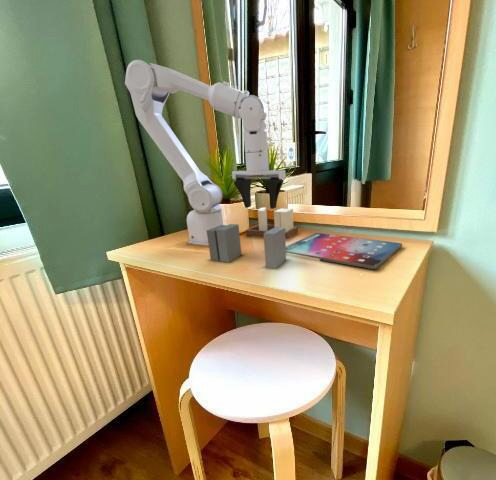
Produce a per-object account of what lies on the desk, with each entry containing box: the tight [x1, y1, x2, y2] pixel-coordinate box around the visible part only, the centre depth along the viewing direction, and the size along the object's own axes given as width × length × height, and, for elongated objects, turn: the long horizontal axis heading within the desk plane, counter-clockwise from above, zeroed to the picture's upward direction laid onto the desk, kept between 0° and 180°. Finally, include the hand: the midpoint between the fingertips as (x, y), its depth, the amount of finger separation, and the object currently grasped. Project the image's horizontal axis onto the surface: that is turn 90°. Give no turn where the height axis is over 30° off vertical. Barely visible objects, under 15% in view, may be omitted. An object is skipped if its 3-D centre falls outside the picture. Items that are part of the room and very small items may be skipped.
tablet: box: [286, 232, 403, 270], centre depth 75 cm, size 19×25×1 cm
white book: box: [257, 207, 268, 231], centre depth 90 cm, size 2×5×7 cm, turn 176°
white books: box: [273, 208, 294, 233], centre depth 87 cm, size 4×5×7 cm
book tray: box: [245, 223, 299, 240], centre depth 90 cm, size 13×8×2 cm, turn 66°
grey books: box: [207, 223, 287, 270], centre depth 69 cm, size 17×6×8 cm, turn 66°
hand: (260, 207), depth 81 cm, fingers open, 7 cm apart
